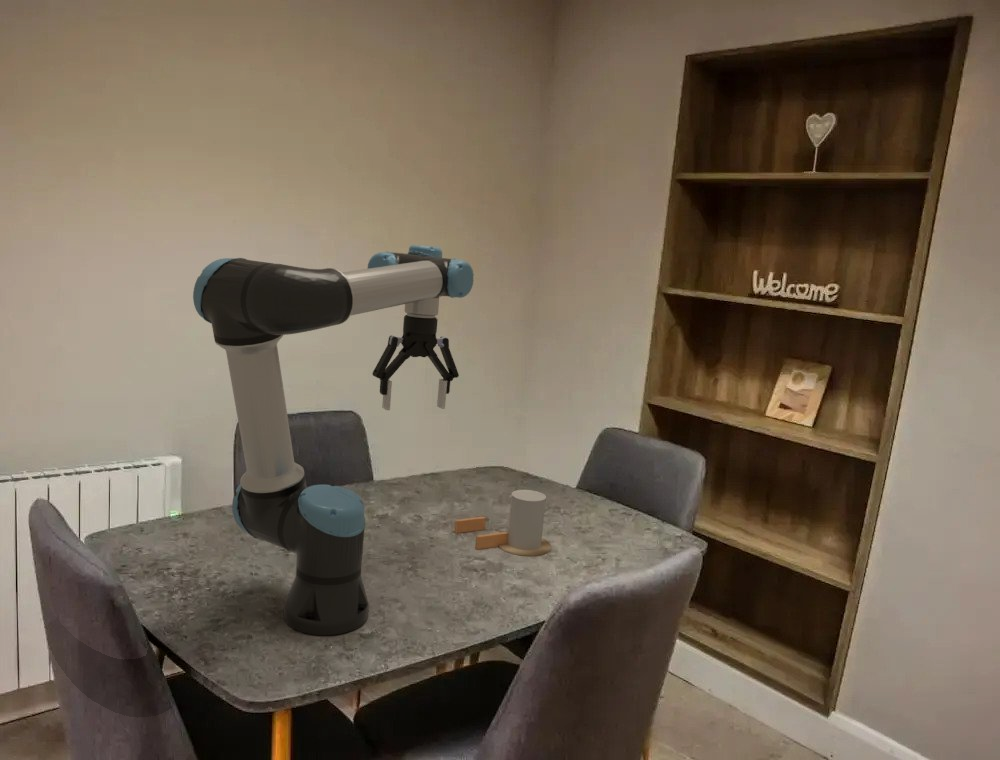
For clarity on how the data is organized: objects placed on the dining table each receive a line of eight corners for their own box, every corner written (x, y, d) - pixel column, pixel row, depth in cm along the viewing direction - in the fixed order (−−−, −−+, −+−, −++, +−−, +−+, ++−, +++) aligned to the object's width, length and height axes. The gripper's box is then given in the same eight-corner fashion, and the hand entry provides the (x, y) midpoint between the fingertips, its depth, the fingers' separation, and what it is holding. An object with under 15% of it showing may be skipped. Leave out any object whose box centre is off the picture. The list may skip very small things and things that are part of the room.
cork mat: (561, 552, 184) (561, 550, 183) (514, 559, 177) (515, 557, 177) (531, 532, 194) (531, 530, 194) (486, 538, 188) (486, 536, 188)
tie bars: (506, 545, 185) (507, 533, 184) (477, 549, 180) (478, 537, 180) (482, 527, 194) (483, 516, 194) (454, 531, 190) (455, 519, 190)
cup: (541, 539, 189) (546, 492, 187) (540, 552, 181) (545, 502, 179) (508, 535, 190) (513, 488, 188) (505, 547, 182) (510, 498, 180)
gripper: (462, 315, 183) (455, 403, 187) (362, 311, 171) (356, 405, 174) (478, 319, 177) (470, 410, 181) (374, 315, 164) (367, 413, 168)
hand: (414, 408), depth 178 cm, fingers open, 13 cm apart
